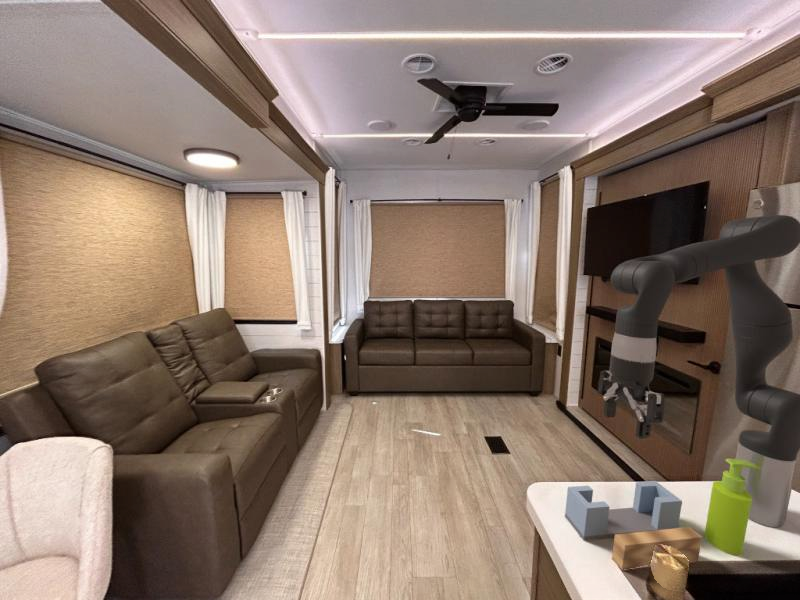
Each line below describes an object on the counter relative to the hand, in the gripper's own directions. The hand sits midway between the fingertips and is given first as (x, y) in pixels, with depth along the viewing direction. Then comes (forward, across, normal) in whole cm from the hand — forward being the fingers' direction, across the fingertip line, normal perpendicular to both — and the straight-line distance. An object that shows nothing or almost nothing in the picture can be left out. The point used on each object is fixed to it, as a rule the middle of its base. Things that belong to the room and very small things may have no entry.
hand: (624, 426), depth 67 cm
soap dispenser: (+27, -4, -24) cm, 37 cm away
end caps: (+27, +3, -4) cm, 27 cm away
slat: (+27, -6, -4) cm, 28 cm away
